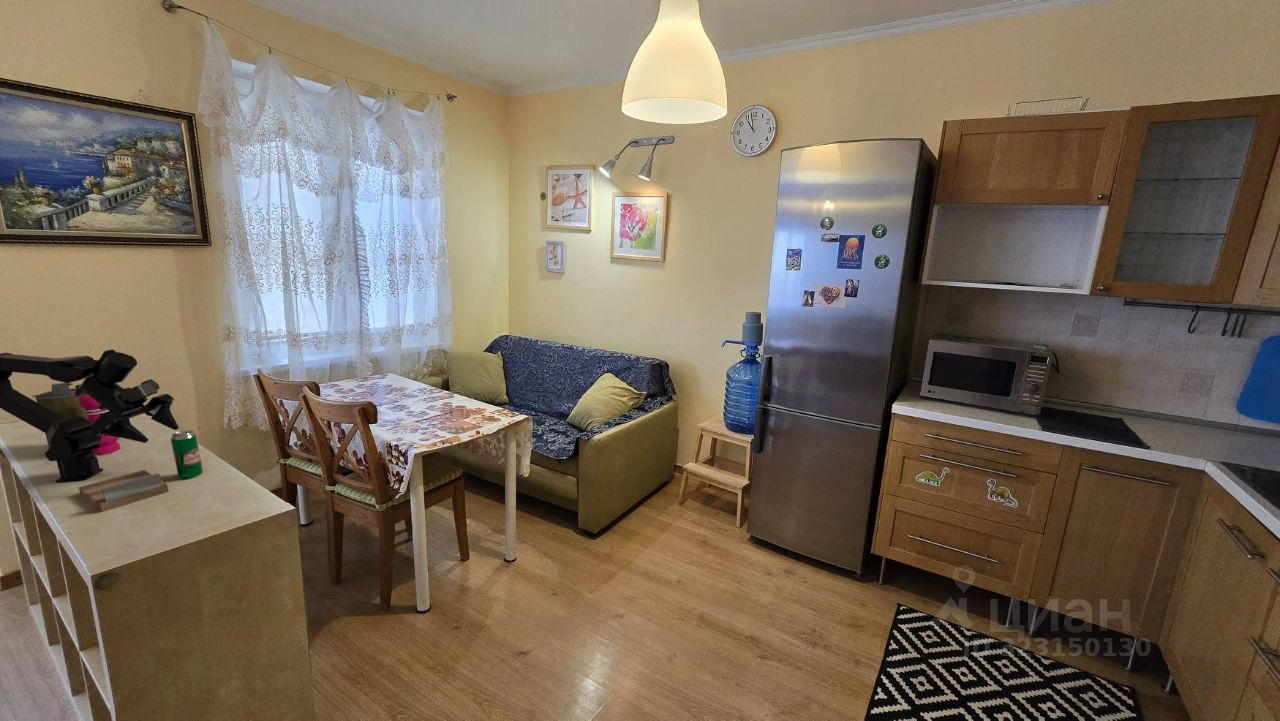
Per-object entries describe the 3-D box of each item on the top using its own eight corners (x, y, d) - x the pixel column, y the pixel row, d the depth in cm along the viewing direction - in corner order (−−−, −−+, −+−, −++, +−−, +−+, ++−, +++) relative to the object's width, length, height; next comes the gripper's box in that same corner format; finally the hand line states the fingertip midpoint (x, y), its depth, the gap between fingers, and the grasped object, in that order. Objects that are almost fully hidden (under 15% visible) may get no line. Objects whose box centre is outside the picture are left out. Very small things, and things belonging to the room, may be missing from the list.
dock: (80, 494, 128) (76, 475, 127) (144, 476, 138) (140, 459, 137) (102, 511, 120) (97, 491, 119) (168, 491, 130) (164, 472, 129)
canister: (97, 439, 164) (83, 378, 160) (101, 447, 158) (86, 383, 153) (45, 449, 156) (29, 385, 151) (48, 458, 149) (30, 391, 145)
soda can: (188, 480, 136) (180, 437, 133) (173, 478, 137) (164, 435, 134) (208, 472, 141) (200, 430, 138) (193, 470, 142) (185, 429, 139)
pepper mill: (83, 454, 153) (67, 388, 148) (114, 445, 159) (100, 382, 155) (96, 457, 150) (80, 391, 146) (128, 449, 156) (113, 384, 152)
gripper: (91, 382, 123) (148, 426, 126) (160, 364, 141) (208, 403, 144) (65, 414, 125) (122, 457, 127) (136, 392, 143) (185, 430, 146)
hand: (162, 434), depth 136 cm, fingers open, 9 cm apart
